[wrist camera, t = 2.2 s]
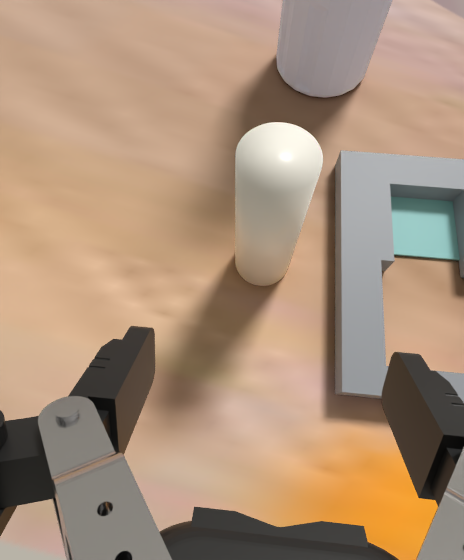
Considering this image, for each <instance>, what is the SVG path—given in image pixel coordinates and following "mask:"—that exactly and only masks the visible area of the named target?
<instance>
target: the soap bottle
mask: <svg viewBox="0 0 464 560" xmlns="http://www.w3.org/2000/svg"><path fill="white" fill-rule="evenodd" d="M391 3H392V0H283V3H282V11H281V20H280V29H279V38H278V47H277V56H276V58H277V69H278V71H279V73H280V75H281V76H282V78H283V80H284V81H285V82H286V83H287V84H288V85H290V86H291V87H292V88H293V89H294V90H296V91H299V92H301V93H304V94H306V95H309V96H315V97H324V98H326V97H333V96H339V95H342V94H344V93H346V92H348V91H350V90H352V89H354V88H355V87H356V86H357V85H358V84H359V82H360V81H361V80H362V79H363V78H364V76H365V73H366V70H367V68H368V65H369V62H370V60H371V57H372V54H373V51H374V49H375V46H376V43H377V41H378V38H379V35H380V33H381V30H382V27H383V24H384V22H385V19H386V16H387V14H388V11H389V8H390V5H391Z"/></svg>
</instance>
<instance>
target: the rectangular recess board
mask: <svg viewBox="0 0 464 560" xmlns="http://www.w3.org/2000/svg"><path fill="white" fill-rule="evenodd" d="M394 255H399V256H411V257H422V258H434V259H446V260H458V261H459V269H460V277H461V278H464V160H463V159H450V158H436V157H423V156H409V155H396V154H382V153H369V152H355V151H342V150H341V152H340V154H339V157H338V159H337V162H336V165H335V394H337V395H347V396H357V397H367V398H377V399H382V389H383V385H384V381H385V378H386V374H387V371H388V367H389V366H386V357H385V334H384V312H383V290H382V271H385V270H386V269H387V268H388V267H389V266H390V265H391V264H392V263H393V262H394ZM430 371H431V370H430ZM436 372H438V373H439V374H440V375H441V376H443V377H444V378H445V379H446V380H448V381H449V382H450V384H451V385H452V386H453V388H454V389H455V391H456V392H457V394H458V397H460V398H461V400H462V401H463V403H464V374H462V373H452V372H441V371H436Z"/></svg>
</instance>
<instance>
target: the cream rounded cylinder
mask: <svg viewBox="0 0 464 560" xmlns="http://www.w3.org/2000/svg"><path fill="white" fill-rule="evenodd" d="M322 164H323V154H322V150H321V148H320V145H319V144H318V142H317V140H316V139H315V138H314V137H313V136H312V135H311V134H310V133H309V132H307V131H306V130H304V129H303V128H301V127H299V126H296V125H293V124H289V123H284V122H271V123H266V124H262V125H259V126H257V127H255V128H253V129H251V130H250V131H248V132H247V133H246V134H245V135H244V136H243V137H242V139H241V140H240V142H239V143H238V146H237V149H236V154H235V265H236V269H237V271H238V273H239V274H240V276H241V277H242V278H243V279H244V280H246V281H247V282H249V283H251V284H253V285H257V286H268V285H272V284H274V283H276V282H278V281H279V280H281V279H282V278H283V277H284V275H285V274H286V272H287V270H288V267H289V264H290V261H291V258H292V255H293V252H294V249H295V246H296V243H297V240H298V237H299V234H300V231H301V228H302V225H303V222H304V219H305V216H306V213H307V210H308V207H309V204H310V201H311V198H312V195H313V192H314V189H315V186H316V183H317V181H318V178H319V175H320V172H321V169H322Z"/></svg>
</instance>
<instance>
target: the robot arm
mask: <svg viewBox="0 0 464 560" xmlns="http://www.w3.org/2000/svg"><path fill="white" fill-rule="evenodd" d="M154 373H155V334H154V329H153V328H148V327H137V326H131V327H130V328H129V329H128V331H127V333H126V334H125V336H124V338H123V339H122V340H119V339H113V340H111V341H110V342H108V343H107V344H105V345H104V346H102V347H101V349H100V350H99V352H98V353H97V355H96V356H95V359H93V360H92V362H91V363H90V365H89V368H87V369H86V371H85V372H84V374H83V375H82V377H81V378H80V380H79V381H78V383H77V384H76V386H75V387H74V388H73V390H72V391H71V393H70V394H69V396H68V397H64V398H61V399H58V400H56V401H54V402H52V403H50V404H49V405H47V406H46V407H45V408H44V409H43V410H42V412H41V413H40V415H39V416H36V417H31V418H24V419H17V420H9V421H5V419H4V415H3V413H2V411H0V536H1V534H2V532H3V531H4V529H5V527H6V525H7V523H8V521H9V520H10V518H11V516H12V514H13V512H14V511H15V509H16V507H17V505H22V504H28V503H33V502H38V501H43V500H48V499H52V500H53V504H54V508H55V513H56V517H57V521H58V525H59V529H60V533H61V538H62V542H63V546H64V550H65V554H66V558H67V560H398V559H397V558H396V557H394V556H393V555H391V554H390V553H388V552H387V551H385V550H383V549H381V548H379V547H377V546H375V545H374V544H371V543H369V542H367V538H366V534H365V530H364V526H358V525H349V524H341V523H332V522H323V521H320V522H314V523H307V524H300V525H294V526H287V527H276V526H273V525H270V524H267V523H265V522H262V521H259V520H257V519H254V518H251V517H249V516H246V515H244V514H241V513H238V512H236V511H228V510H219V509H210V508H201V507H194V511H193V517H192V521H188V522H183V523H179V524H176V525H173V526H171V527H168V528H166V529H164V530H162V531H160V532H159V530H158V528H157V526H156V524H155V522H154V520H153V517H152V515H151V513H150V511H149V509H148V507H147V505H146V502H145V500H144V498H143V496H142V494H141V492H140V489H139V487H138V485H137V483H136V481H135V479H134V476H133V474H132V472H131V470H130V468H129V466H128V463H127V461H126V459H125V457H124V452H125V450H126V447H127V445H128V442H129V440H130V437H131V435H132V433H133V430H134V428H135V425H136V423H137V420H138V418H139V415H140V413H141V410H142V408H143V405H144V403H145V400H146V398H147V395H148V393H149V390H150V388H151V386H152V383H153V379H154ZM382 406H383V410H384V412H385V415H386V417H387V420H388V422H389V425H390V427H391V430H392V432H393V435H394V437H395V440H396V442H397V445H398V447H399V450H400V452H401V455H402V457H403V460H404V462H405V465H406V467H407V470H408V472H409V475H410V477H411V480H412V482H413V485H414V487H415V490H416V492H417V495H418V497H419V498H423V499H432V500H436V502H437V505H438V509H437V511H436V513H435V516H434V518H433V520H432V523H431V525H430V528H429V530H428V532H427V535H426V537H425V539H424V542H423V544H422V547H421V549H420V551H419V554H418V556H417V558H416V560H464V403H463V401H462V400H461V398H460V397H458V394H457V392H456V391H455V389H454V388H453V386H452V385H451V384H450V382H449V381H448V380H446V379H445V378H444V377H443V376H441V375H440V374H439V373H438V372H436V371H430V369H429V367H428V366H427V364H426V363H425V361H424V360H423V358H422V357H421V355H419V354H412V353H401V352H394V353H393V355H392V357H391V360H390V364H389V367H388V371H387V374H386V378H385V381H384V385H383V389H382Z"/></svg>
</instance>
